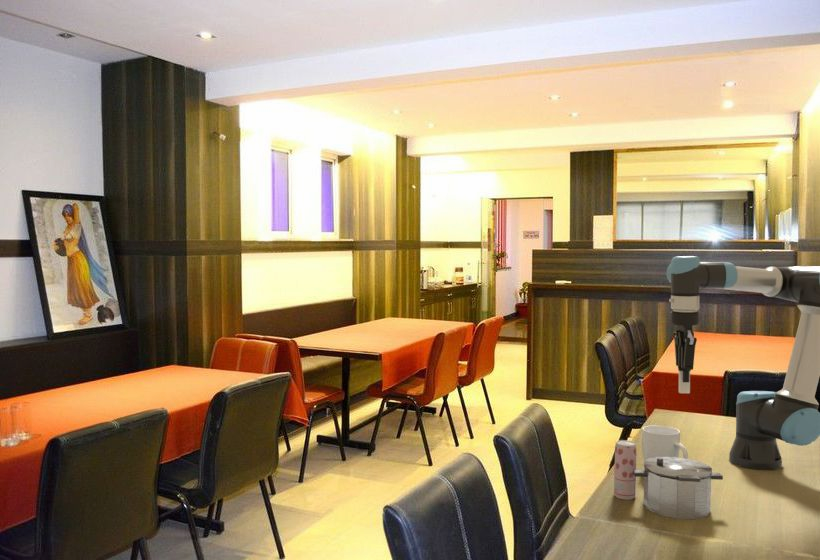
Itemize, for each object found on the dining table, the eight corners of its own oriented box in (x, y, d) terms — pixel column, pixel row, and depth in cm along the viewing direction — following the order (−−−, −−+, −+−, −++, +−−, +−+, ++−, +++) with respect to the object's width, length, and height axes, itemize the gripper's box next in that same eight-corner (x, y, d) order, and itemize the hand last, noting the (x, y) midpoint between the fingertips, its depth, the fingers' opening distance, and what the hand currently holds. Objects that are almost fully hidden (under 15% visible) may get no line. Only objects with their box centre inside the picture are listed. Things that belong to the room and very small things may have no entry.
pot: (710, 498, 192) (711, 462, 192) (731, 521, 176) (732, 482, 176) (626, 494, 194) (627, 459, 194) (640, 517, 178) (641, 478, 178)
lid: (699, 461, 193) (699, 451, 193) (724, 483, 173) (724, 472, 173) (636, 459, 195) (637, 449, 195) (655, 481, 175) (655, 470, 175)
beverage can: (609, 494, 195) (610, 441, 194) (625, 491, 197) (626, 439, 196) (623, 501, 190) (624, 446, 189) (639, 498, 192) (641, 444, 191)
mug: (698, 476, 210) (699, 434, 209) (675, 483, 204) (676, 439, 203) (656, 463, 222) (657, 423, 222) (633, 469, 216) (634, 428, 215)
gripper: (664, 308, 205) (664, 387, 206) (678, 313, 192) (677, 397, 193) (690, 308, 204) (690, 387, 205) (706, 312, 191) (705, 397, 192)
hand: (684, 392), depth 199 cm, fingers closed
